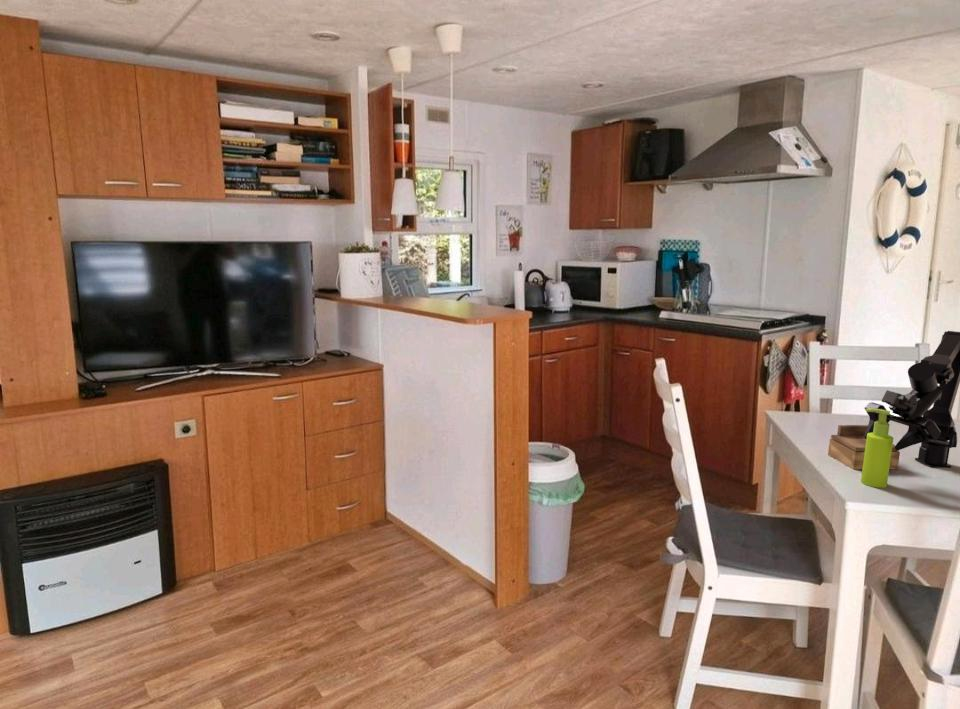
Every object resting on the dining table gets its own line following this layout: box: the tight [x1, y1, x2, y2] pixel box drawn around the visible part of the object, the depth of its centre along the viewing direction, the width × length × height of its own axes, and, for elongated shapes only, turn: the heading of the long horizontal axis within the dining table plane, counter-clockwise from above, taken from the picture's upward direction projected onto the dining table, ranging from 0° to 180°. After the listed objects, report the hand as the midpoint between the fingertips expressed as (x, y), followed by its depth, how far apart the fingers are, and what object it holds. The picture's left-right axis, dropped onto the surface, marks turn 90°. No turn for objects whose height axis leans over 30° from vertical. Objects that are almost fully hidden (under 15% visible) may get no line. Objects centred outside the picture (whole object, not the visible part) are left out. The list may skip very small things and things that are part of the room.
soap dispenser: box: [860, 408, 894, 489], centre depth 168 cm, size 6×7×20 cm
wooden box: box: [827, 438, 901, 470], centre depth 186 cm, size 13×12×5 cm
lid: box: [830, 424, 900, 452], centre depth 185 cm, size 13×12×4 cm
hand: (880, 443), depth 168 cm, fingers open, 9 cm apart
